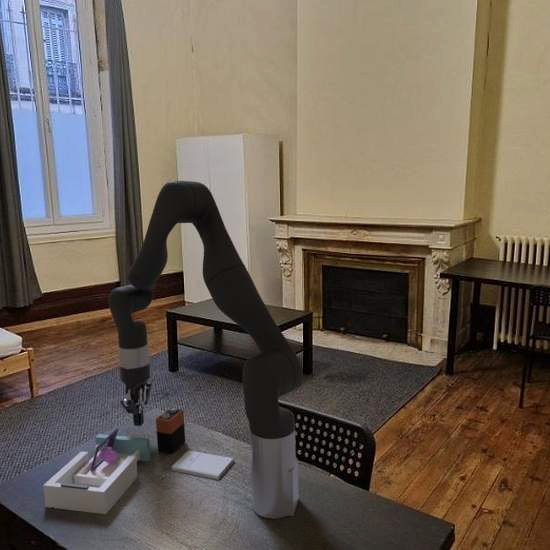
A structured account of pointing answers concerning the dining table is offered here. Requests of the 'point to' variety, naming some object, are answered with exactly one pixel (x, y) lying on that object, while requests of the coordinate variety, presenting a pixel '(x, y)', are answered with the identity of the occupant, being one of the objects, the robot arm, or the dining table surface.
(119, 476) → the open box
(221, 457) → the external hard drive
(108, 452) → the purple toy kit
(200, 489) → the dining table surface
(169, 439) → the battery
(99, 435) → the drawer
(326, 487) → the dining table surface
